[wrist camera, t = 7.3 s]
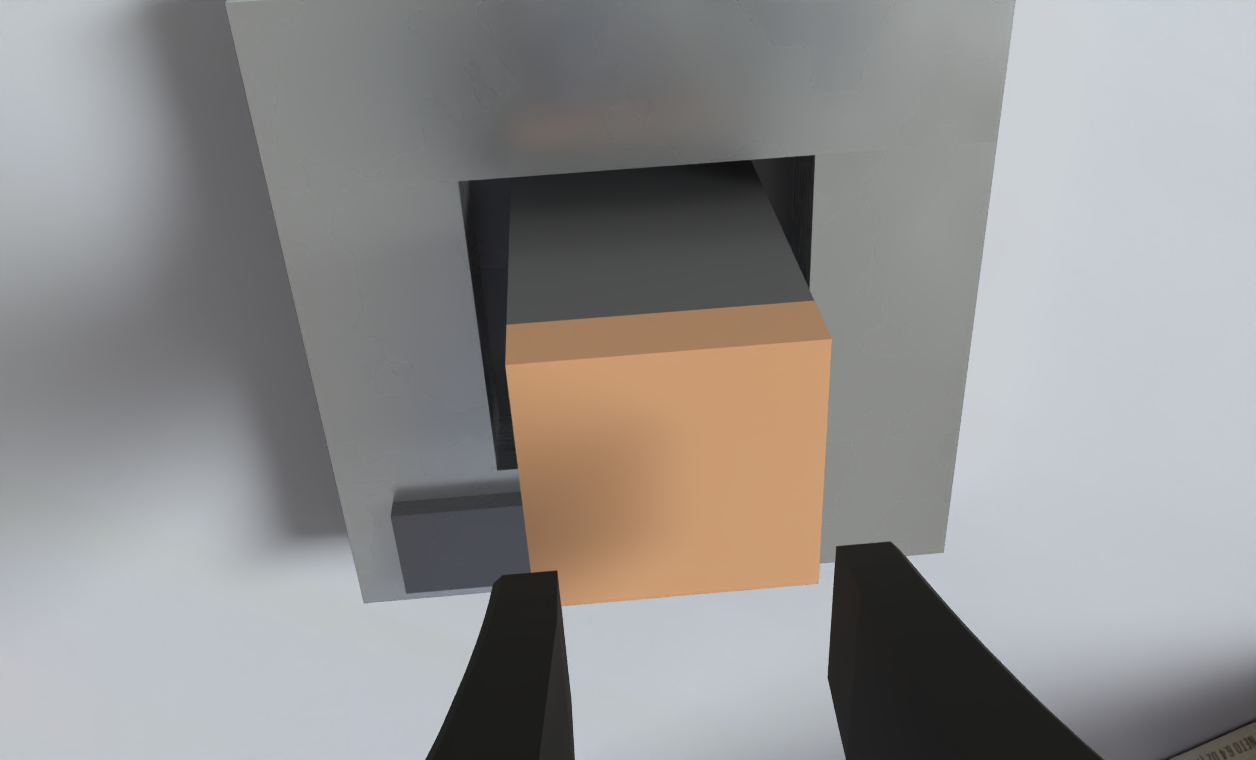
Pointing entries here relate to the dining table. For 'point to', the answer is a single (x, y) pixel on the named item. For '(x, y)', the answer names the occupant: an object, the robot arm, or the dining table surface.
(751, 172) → the plug
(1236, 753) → the coffee box
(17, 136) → the dining table surface
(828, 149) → the socket plate
